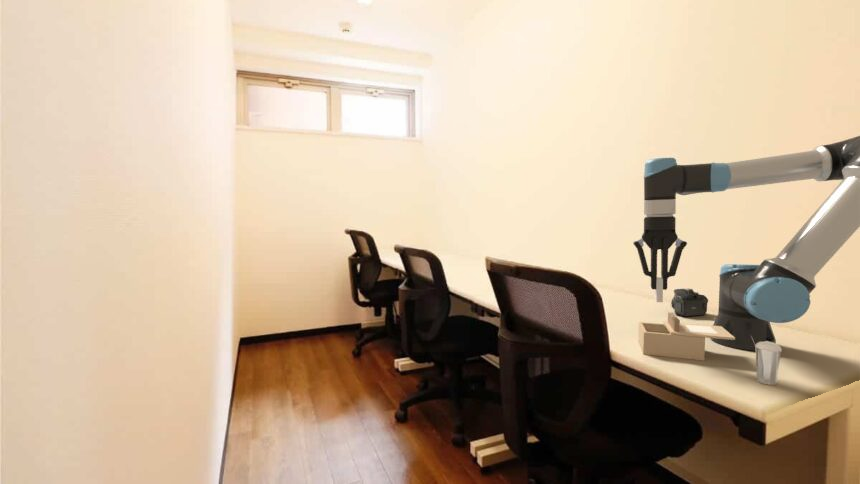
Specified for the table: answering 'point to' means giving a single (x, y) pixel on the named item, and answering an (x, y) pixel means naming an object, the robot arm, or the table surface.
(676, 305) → the camera
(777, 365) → the milkshake
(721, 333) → the lid
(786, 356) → the table surface
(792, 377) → the table surface
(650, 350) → the box
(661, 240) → the robot arm
